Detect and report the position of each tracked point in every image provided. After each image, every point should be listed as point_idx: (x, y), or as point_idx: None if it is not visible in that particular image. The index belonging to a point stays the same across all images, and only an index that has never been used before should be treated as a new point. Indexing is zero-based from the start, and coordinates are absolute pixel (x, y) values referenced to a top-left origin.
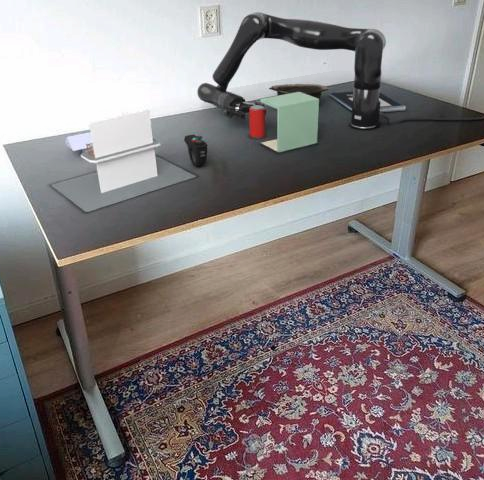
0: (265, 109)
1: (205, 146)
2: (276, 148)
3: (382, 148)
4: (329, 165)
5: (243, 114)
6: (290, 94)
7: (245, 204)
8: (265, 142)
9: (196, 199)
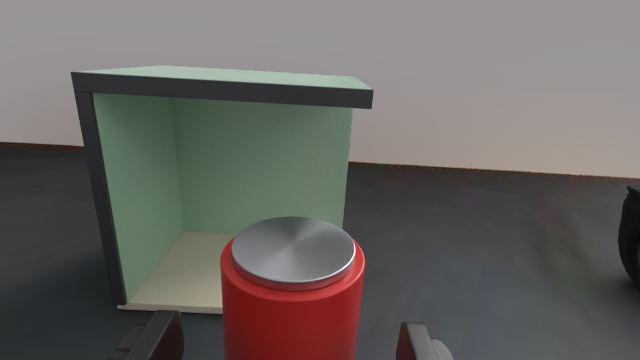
0: (134, 331)
1: (634, 186)
2: None
3: None
4: None
5: (417, 324)
6: (169, 75)
7: (497, 172)
8: None
9: (597, 198)
